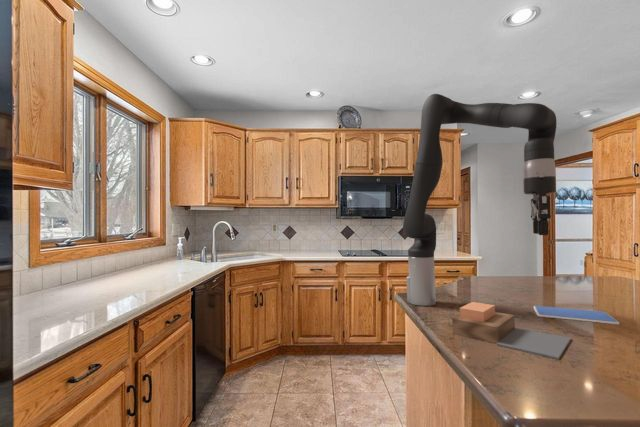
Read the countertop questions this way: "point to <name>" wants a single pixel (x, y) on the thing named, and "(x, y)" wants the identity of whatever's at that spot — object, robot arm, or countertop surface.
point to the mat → (535, 342)
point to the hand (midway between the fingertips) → (540, 234)
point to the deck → (485, 327)
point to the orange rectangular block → (477, 311)
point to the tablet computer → (575, 314)
